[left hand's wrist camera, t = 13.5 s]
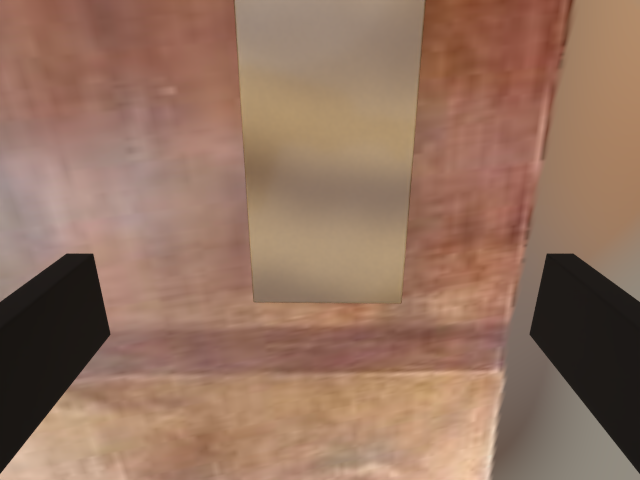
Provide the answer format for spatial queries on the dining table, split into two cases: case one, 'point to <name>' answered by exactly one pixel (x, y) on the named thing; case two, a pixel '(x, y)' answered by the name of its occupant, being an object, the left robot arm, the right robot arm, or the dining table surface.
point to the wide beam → (328, 144)
